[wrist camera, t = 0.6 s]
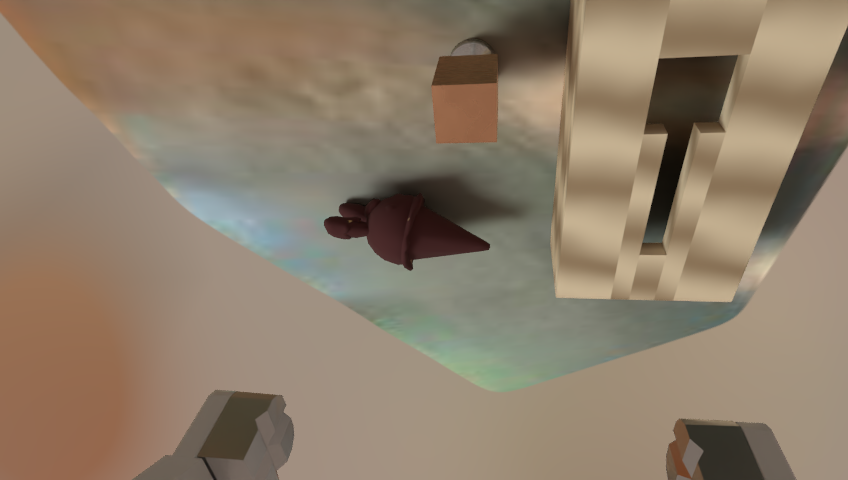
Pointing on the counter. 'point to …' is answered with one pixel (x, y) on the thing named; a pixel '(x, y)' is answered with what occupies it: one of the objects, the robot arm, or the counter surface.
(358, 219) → the icecream
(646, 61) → the keyhole plate
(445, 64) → the wooden block
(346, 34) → the counter surface
